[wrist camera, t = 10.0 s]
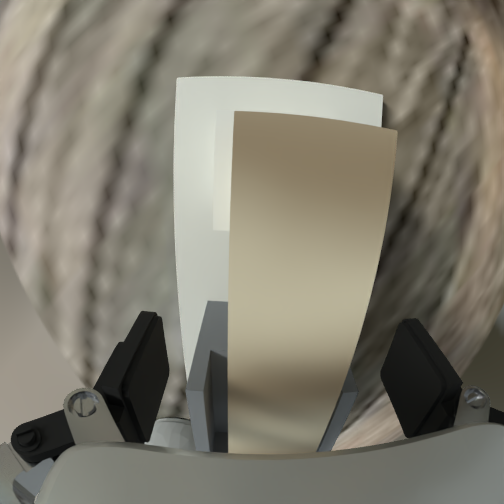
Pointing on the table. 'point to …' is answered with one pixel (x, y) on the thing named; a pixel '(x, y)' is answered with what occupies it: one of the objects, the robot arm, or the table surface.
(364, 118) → the cup bracket
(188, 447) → the mug
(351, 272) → the top rail
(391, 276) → the table surface
